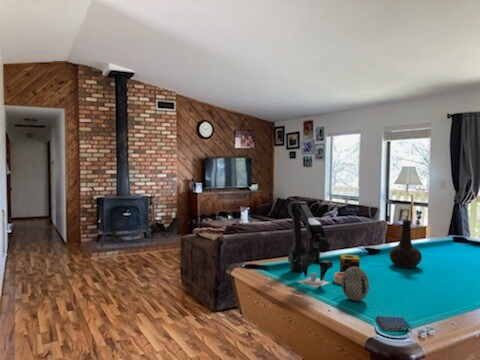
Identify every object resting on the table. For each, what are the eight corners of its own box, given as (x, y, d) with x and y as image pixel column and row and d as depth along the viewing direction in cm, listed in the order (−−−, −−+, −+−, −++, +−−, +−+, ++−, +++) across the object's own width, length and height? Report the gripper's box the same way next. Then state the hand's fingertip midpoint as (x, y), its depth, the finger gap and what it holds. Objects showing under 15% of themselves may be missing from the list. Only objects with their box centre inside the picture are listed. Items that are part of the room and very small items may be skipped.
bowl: (330, 283, 192) (331, 274, 192) (340, 279, 198) (340, 271, 198) (346, 287, 186) (347, 278, 185) (355, 283, 192) (356, 274, 192)
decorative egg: (353, 306, 160) (354, 271, 160) (335, 297, 171) (336, 264, 170) (374, 302, 165) (375, 268, 164) (356, 294, 176) (357, 262, 175)
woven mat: (374, 320, 147) (374, 314, 147) (402, 321, 146) (402, 316, 146) (381, 331, 137) (382, 326, 137) (412, 333, 136) (412, 327, 136)
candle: (360, 277, 202) (360, 259, 202) (340, 276, 204) (341, 258, 204) (358, 272, 212) (358, 255, 212) (339, 271, 214) (339, 254, 214)
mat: (296, 283, 191) (296, 281, 191) (310, 278, 199) (310, 277, 199) (316, 289, 182) (316, 287, 182) (330, 284, 191) (330, 282, 190)
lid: (300, 281, 190) (301, 273, 190) (310, 278, 197) (311, 269, 197) (316, 286, 184) (316, 277, 184) (326, 282, 191) (326, 273, 190)
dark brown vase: (388, 268, 222) (390, 221, 221) (389, 261, 239) (390, 217, 238) (422, 271, 215) (423, 223, 214) (420, 264, 232) (421, 219, 231)
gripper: (289, 247, 191) (288, 277, 191) (321, 253, 178) (320, 286, 178) (302, 244, 199) (301, 273, 199) (333, 250, 186) (332, 281, 186)
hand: (313, 278), depth 191 cm, fingers open, 9 cm apart
